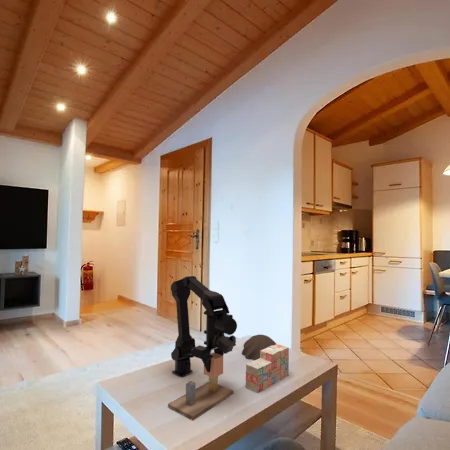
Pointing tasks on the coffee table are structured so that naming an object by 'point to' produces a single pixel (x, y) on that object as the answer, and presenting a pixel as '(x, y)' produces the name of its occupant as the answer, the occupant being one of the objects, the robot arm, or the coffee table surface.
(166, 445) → the coffee table surface
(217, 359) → the salmon orange block
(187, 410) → the board
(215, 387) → the brass post
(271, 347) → the stack of blocks
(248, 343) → the decorative dome
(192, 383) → the steel post
